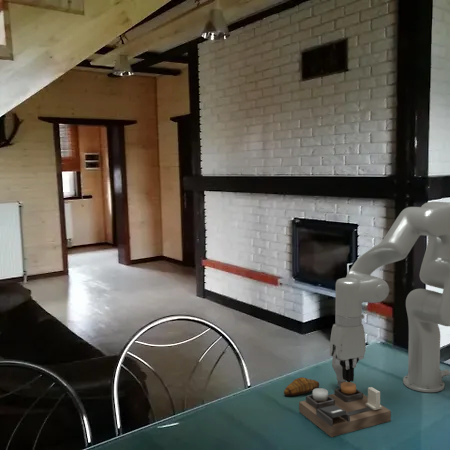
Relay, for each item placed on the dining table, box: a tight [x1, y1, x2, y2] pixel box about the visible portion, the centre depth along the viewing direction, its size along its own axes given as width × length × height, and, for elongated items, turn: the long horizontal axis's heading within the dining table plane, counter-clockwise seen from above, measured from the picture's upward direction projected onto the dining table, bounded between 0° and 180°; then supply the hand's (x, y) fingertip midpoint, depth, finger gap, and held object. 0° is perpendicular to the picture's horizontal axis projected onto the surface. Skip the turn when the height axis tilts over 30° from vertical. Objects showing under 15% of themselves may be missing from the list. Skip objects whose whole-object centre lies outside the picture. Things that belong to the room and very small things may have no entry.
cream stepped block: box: [366, 386, 383, 410], centre depth 143 cm, size 3×4×5 cm
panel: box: [298, 387, 392, 438], centre depth 145 cm, size 20×16×5 cm
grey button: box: [312, 387, 329, 401], centre depth 146 cm, size 4×4×2 cm
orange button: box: [341, 381, 357, 394], centre depth 150 cm, size 4×4×2 cm
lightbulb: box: [331, 361, 347, 388], centre depth 163 cm, size 6×6×11 cm
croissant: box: [283, 377, 320, 397], centre depth 161 cm, size 14×7×5 cm, turn 119°
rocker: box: [320, 405, 346, 418], centre depth 138 cm, size 4×6×1 cm
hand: (348, 380), depth 150 cm, fingers closed
